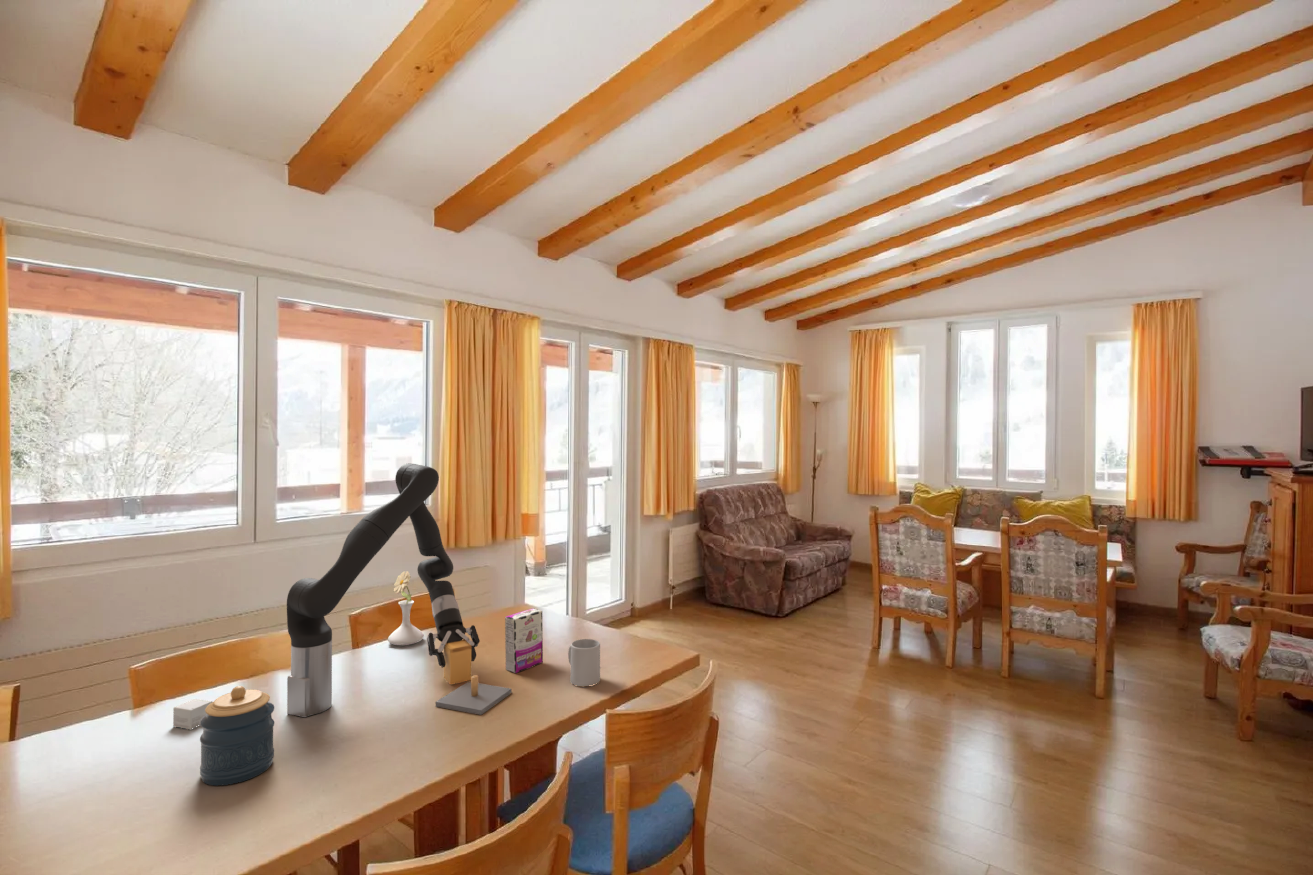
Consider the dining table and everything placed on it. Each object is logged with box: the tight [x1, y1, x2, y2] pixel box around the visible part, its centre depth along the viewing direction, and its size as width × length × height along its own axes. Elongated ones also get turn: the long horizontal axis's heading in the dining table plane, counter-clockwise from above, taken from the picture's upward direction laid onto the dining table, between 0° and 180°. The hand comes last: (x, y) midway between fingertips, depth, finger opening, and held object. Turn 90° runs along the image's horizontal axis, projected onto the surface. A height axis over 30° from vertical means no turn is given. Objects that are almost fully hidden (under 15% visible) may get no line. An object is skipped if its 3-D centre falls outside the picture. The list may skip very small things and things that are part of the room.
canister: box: [199, 685, 275, 787], centre depth 130 cm, size 13×13×18 cm
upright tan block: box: [443, 639, 472, 685], centre depth 179 cm, size 6×6×10 cm
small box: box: [172, 698, 213, 730], centre depth 150 cm, size 6×6×5 cm
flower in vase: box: [387, 570, 425, 646], centre depth 208 cm, size 13×11×25 cm
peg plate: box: [435, 674, 513, 716], centre depth 165 cm, size 14×14×6 cm
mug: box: [567, 638, 601, 687], centre depth 179 cm, size 12×8×11 cm
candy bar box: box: [504, 608, 544, 674], centre depth 188 cm, size 11×5×16 cm, turn 143°
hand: (458, 663), depth 178 cm, fingers open, 8 cm apart
